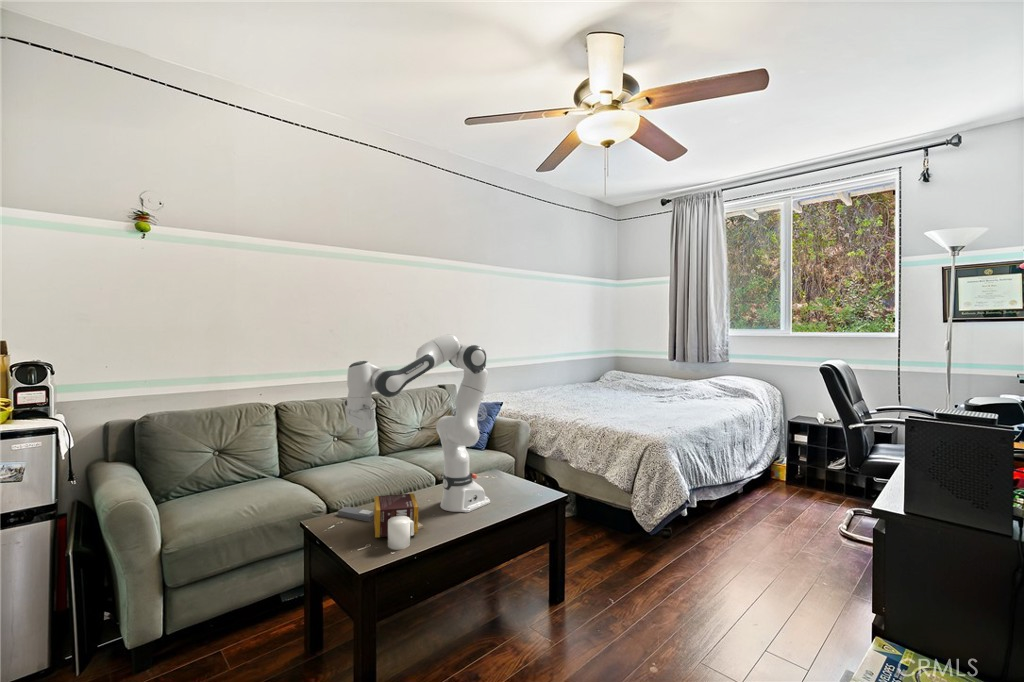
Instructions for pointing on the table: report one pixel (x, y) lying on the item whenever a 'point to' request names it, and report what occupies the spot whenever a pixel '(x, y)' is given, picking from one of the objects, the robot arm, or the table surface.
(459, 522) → the table surface
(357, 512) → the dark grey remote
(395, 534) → the white mug
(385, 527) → the supplement box
